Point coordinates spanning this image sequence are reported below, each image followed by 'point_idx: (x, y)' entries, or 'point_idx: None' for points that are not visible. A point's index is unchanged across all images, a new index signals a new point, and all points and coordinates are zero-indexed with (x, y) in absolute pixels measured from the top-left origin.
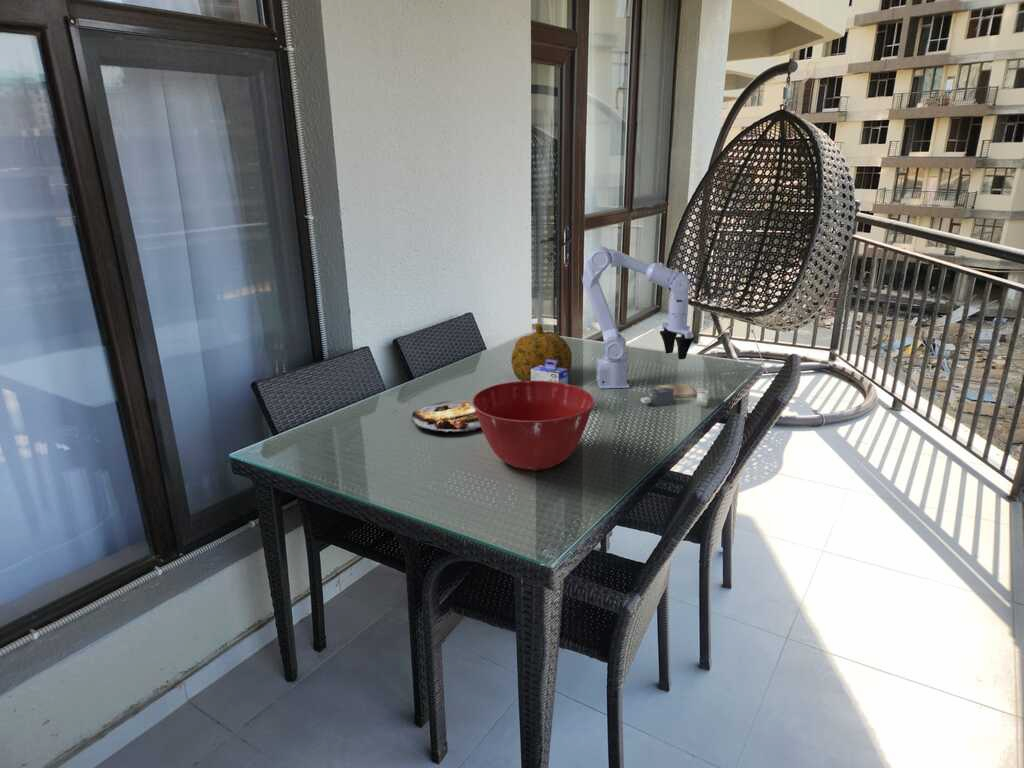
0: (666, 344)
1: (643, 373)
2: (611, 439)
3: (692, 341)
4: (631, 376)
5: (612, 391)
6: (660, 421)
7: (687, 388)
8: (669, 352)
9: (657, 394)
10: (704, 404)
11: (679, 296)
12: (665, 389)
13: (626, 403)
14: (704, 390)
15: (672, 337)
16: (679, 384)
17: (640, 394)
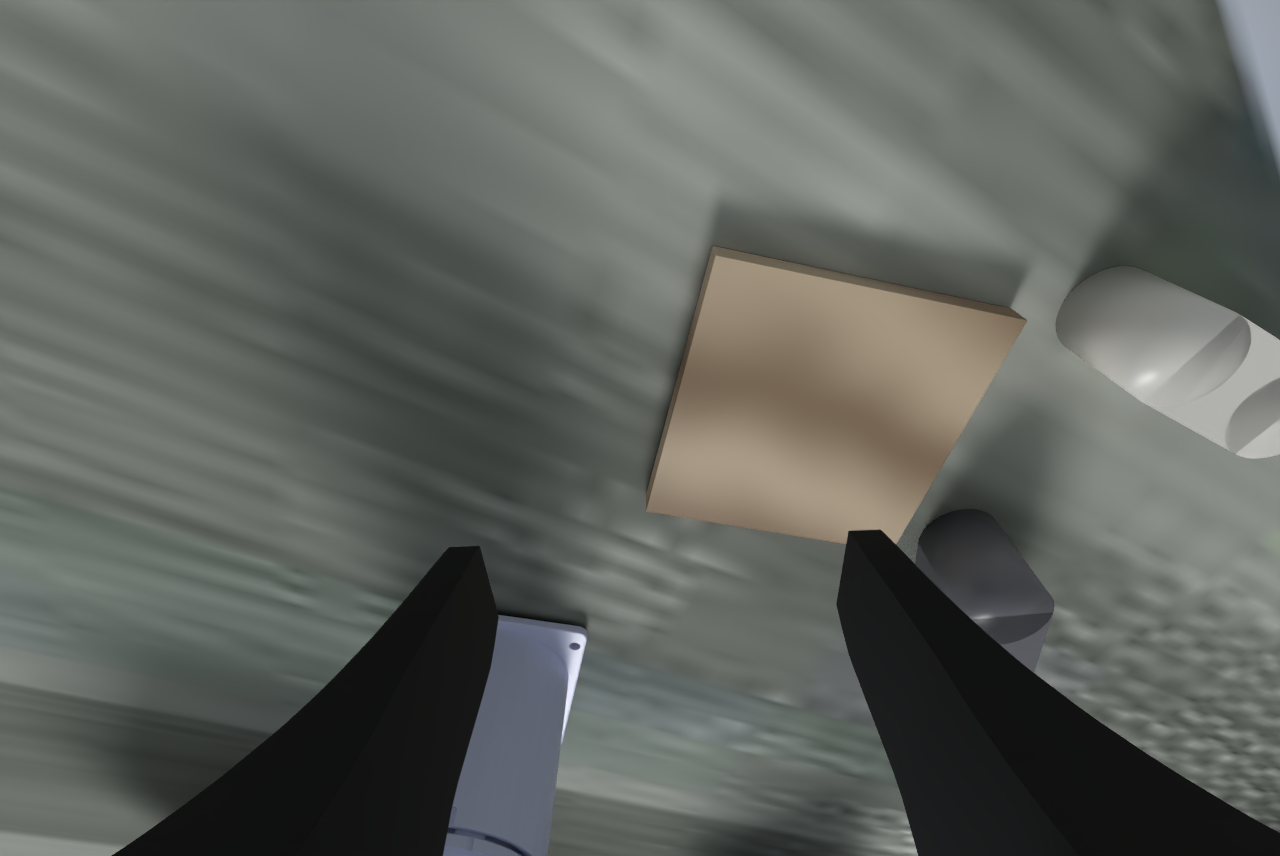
0: (456, 762)
1: (202, 419)
2: None
3: (1266, 841)
4: (298, 527)
5: (617, 703)
6: (1190, 679)
7: (841, 320)
8: (486, 593)
9: None
10: None
11: None
12: (998, 633)
13: (843, 710)
14: (1236, 363)
15: (369, 839)
16: (695, 330)
17: (732, 613)
